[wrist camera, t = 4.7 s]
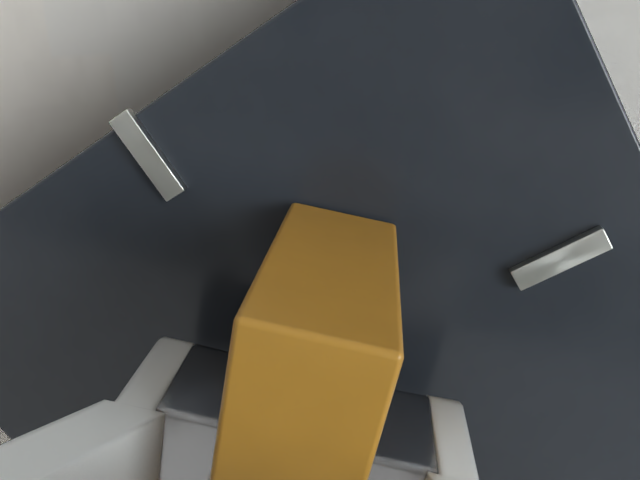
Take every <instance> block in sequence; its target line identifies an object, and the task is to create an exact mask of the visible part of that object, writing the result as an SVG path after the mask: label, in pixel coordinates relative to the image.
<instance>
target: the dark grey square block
mask: <svg viewBox="0 0 640 480" xmlns="http://www.w3.org/2000/svg"><path fill="white" fill-rule="evenodd" d="M109 124H110V125H111V127H112V128H113V130H112V131H110V132H109V133H107V134H106V135H104V136H103V137H102V138H100V139H99V140H97V141H96V142H95V143H93V144H92V145H90V146H89V147H87V148H86V149H85V150H83V151H82V152H80V153H79V154H77V155H76V156H75V157H73V158H72V159H70V160H69V161H68V162H66V163H65V164H63V165H62V166H60V167H59V168H58V169H56V170H55V171H53V172H52V173H50V174H49V175H48V176H46V177H45V178H43V179H42V180H41V181H39V182H38V183H36V184H35V185H33V186H32V187H31V188H29V189H28V190H26V191H25V192H23V193H22V194H21V195H19V196H18V197H16V198H15V199H14V200H12V201H11V202H9V203H8V204H6V205H5V206H4V207H2V208H1V209H0V428H1V429H2V430H3V431H4V432H5V433H6V434H7V435H8V436H9V438H10V439H11V440H12V439H14V438H17V437H19V436H21V435H24V434H26V433H28V432H31V431H33V430H35V429H38V428H40V427H42V426H44V425H47V424H49V423H51V422H54V421H56V420H58V419H61V418H63V417H65V416H68V415H70V414H72V413H75V412H77V411H79V410H81V409H84V408H86V407H88V406H91V405H93V404H95V403H98V402H100V401H102V400H109V401H114V402H115V400H116V399H117V397H118V396H119V395H120V393H121V392H122V390H123V389H124V387H125V386H126V385H127V383H128V382H129V380H130V379H131V378H132V376H133V375H134V373H135V372H136V370H137V369H138V368H139V366H140V365H141V363H142V362H143V360H144V359H145V358H146V356H147V355H148V353H149V352H150V351H151V349H152V348H153V346H154V345H155V343H156V342H157V341H158V340H159V339H161V338H163V337H169V338H173V339H178V340H182V341H187V342H191V343H194V344H200V345H204V346H208V347H212V348H216V349H220V350H224V351H228V352H229V347H230V340H231V333H232V326H233V320H234V318H235V316H236V314H237V312H238V310H239V308H240V306H241V304H242V302H243V300H244V298H245V296H246V294H247V292H248V290H249V288H250V286H251V284H252V282H253V280H254V278H255V276H256V274H257V272H258V270H259V268H260V266H261V264H262V262H263V260H264V258H265V256H266V254H267V252H268V250H269V248H270V246H271V244H272V242H273V240H274V238H275V236H276V234H277V232H278V230H279V228H280V226H281V224H282V222H283V220H284V218H285V216H286V214H287V212H288V210H289V208H290V206H291V205H292V203H299V204H303V205H308V206H313V207H317V208H322V209H327V210H331V211H336V212H340V213H345V214H350V215H354V216H359V217H364V218H368V219H373V220H377V221H382V222H387V223H391V224H394V225H395V226H396V234H397V251H398V267H399V284H400V300H401V317H402V333H403V350H404V360H403V363H402V367H401V370H400V374H399V377H398V380H397V384H396V387H395V389H396V390H400V391H405V392H410V393H415V394H419V395H424V396H427V395H429V396H434V397H440V398H445V399H450V400H456V401H459V402H460V403H461V404H462V405H463V408H464V413H465V418H466V422H467V427H468V431H469V436H470V441H471V445H472V450H473V454H474V459H475V463H476V468H477V473H478V477H479V480H640V143H639V141H638V139H637V136H636V134H635V132H634V130H633V127H632V125H631V123H630V121H629V118H628V116H627V114H626V112H625V109H624V107H623V105H622V103H621V100H620V98H619V96H618V94H617V91H616V89H615V87H614V85H613V82H612V80H611V78H610V76H609V73H608V71H607V69H606V67H605V64H604V62H603V60H602V58H601V55H600V53H599V51H598V49H597V46H596V44H595V42H594V40H593V37H592V35H591V33H590V31H589V28H588V26H587V24H586V22H585V19H584V17H583V15H582V13H581V10H580V8H579V6H578V4H577V1H576V0H296V1H295V2H293V3H292V4H291V5H289V6H288V7H286V8H285V9H284V10H282V11H281V12H279V13H278V14H276V15H275V16H274V17H272V18H271V19H269V20H268V21H266V22H265V23H264V24H262V25H261V26H259V27H258V28H257V29H255V30H254V31H252V32H251V33H249V34H248V35H247V36H245V37H244V38H242V39H241V40H239V41H238V42H237V43H235V44H234V45H232V46H231V47H230V48H228V49H227V50H225V51H224V52H222V53H221V54H220V55H218V56H217V57H215V58H214V59H212V60H211V61H210V62H208V63H207V64H205V65H204V66H203V67H201V68H200V69H198V70H197V71H195V72H194V73H193V74H191V75H190V76H188V77H187V78H185V79H184V80H183V81H181V82H180V83H178V84H177V85H176V86H174V87H173V88H171V89H170V90H168V91H167V92H166V93H164V94H163V95H161V96H160V97H158V98H157V99H156V100H154V101H153V102H151V103H150V104H149V105H147V106H146V107H144V108H143V109H141V110H140V111H139V112H137V113H136V114H135V113H134V112H133V111H132V109H131V108H129V109H126V110H124V111H123V112H122V113H120V114H119V115H117V116H116V117H115V118H113V119H112V120H110V121H109Z"/></svg>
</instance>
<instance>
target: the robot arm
mask: <svg viewBox="0 0 640 480" xmlns="http://www.w3.org/2000/svg"><path fill="white" fill-rule="evenodd" d="M228 353H229V352H228V351H224V350H220V349H216V348H212V347H208V346H204V345H200V344H194V343H191V342H187V341H182V340H178V339H173V338H169V337H163V338H161V339H159V340H158V341H157V342H156V343H155V345H154V346H153V348H152V349H151V351H150V352H149V353H148V355H147V356H146V358H145V359H144V360H143V362H142V363H141V365H140V366H139V368H138V369H137V370H136V372H135V373H134V375H133V376H132V378H131V379H130V380H129V382H128V383H127V385H126V386H125V387H124V389H123V390H122V392H121V393H120V395H119V396H118V397H117V399H116V400H115V402H114V401H109V400H102V401H100V402H98V403H95V404H93V405H91V406H88V407H86V408H84V409H81V410H79V411H77V412H75V413H72V414H70V415H68V416H65V417H63V418H61V419H58V420H56V421H54V422H51V423H49V424H47V425H44V426H42V427H40V428H38V429H35V430H33V431H31V432H28V433H26V434H24V435H21V436H19V437H17V438H14V439H12V440H10V441H7V442H5V443H3V444H1V445H0V480H210V474H211V468H212V461H213V454H214V447H215V441H216V434H217V427H218V421H219V414H220V407H221V400H222V394H223V387H224V380H225V373H226V367H227V360H228ZM368 480H479V477H478V473H477V468H476V463H475V459H474V454H473V450H472V445H471V441H470V436H469V431H468V427H467V422H466V418H465V413H464V408H463V405H462V404H461V403H460V402H459V401H456V400H450V399H445V398H440V397H434V396H429V395H427V396H424V395H419V394H415V393H410V392H405V391H400V390H396V389H395V390H394V394H393V397H392V400H391V404H390V407H389V411H388V414H387V417H386V421H385V424H384V427H383V431H382V434H381V437H380V441H379V444H378V448H377V451H376V454H375V458H374V461H373V464H372V468H371V471H370V474H369V478H368Z"/></svg>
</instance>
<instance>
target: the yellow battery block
mask: <svg viewBox="0 0 640 480" xmlns="http://www.w3.org/2000/svg"><path fill="white" fill-rule="evenodd" d="M403 360H404V350H403V333H402V317H401V300H400V284H399V267H398V251H397V234H396V226H395V225H394V224H391V223H387V222H382V221H377V220H373V219H368V218H364V217H359V216H354V215H350V214H345V213H340V212H336V211H331V210H327V209H322V208H317V207H313V206H308V205H303V204H299V203H292V205H291V206H290V208H289V210H288V212H287V214H286V216H285V218H284V220H283V222H282V224H281V226H280V228H279V230H278V232H277V234H276V236H275V238H274V240H273V242H272V244H271V246H270V248H269V250H268V252H267V254H266V256H265V258H264V260H263V262H262V264H261V266H260V268H259V270H258V272H257V274H256V276H255V278H254V280H253V282H252V284H251V286H250V288H249V290H248V292H247V294H246V296H245V298H244V300H243V302H242V304H241V306H240V308H239V310H238V312H237V314H236V316H235V318H234V320H233V326H232V333H231V340H230V347H229V353H228V360H227V367H226V373H225V380H224V387H223V394H222V400H221V407H220V414H219V421H218V427H217V434H216V441H215V447H214V454H213V461H212V468H211V474H210V480H368V478H369V474H370V471H371V468H372V464H373V461H374V458H375V454H376V451H377V448H378V444H379V441H380V437H381V434H382V431H383V427H384V424H385V421H386V417H387V414H388V411H389V407H390V404H391V400H392V397H393V394H394V390H395V387H396V384H397V380H398V377H399V374H400V370H401V367H402V363H403Z"/></svg>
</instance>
